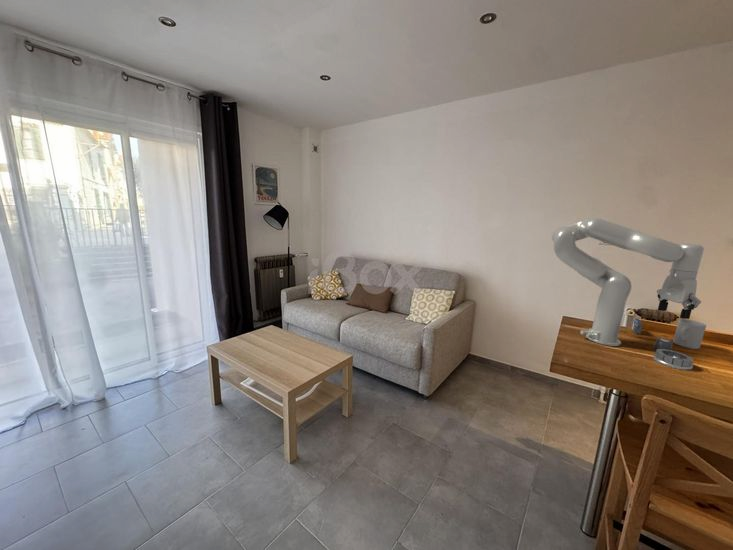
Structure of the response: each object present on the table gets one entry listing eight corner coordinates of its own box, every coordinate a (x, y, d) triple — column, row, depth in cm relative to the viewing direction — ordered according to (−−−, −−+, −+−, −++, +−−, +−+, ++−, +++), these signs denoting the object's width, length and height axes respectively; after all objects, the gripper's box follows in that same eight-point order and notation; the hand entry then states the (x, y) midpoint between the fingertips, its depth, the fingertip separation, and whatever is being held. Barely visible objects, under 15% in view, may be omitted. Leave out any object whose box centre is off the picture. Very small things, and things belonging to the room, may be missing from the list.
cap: (661, 353, 125) (664, 342, 124) (650, 348, 130) (652, 337, 129) (673, 354, 124) (676, 343, 123) (662, 348, 130) (665, 338, 128)
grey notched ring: (670, 369, 111) (673, 360, 111) (645, 355, 122) (647, 347, 121) (701, 371, 111) (703, 362, 110) (672, 357, 122) (675, 349, 121)
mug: (678, 339, 140) (684, 318, 138) (703, 347, 133) (710, 324, 130) (664, 343, 136) (671, 320, 133) (690, 351, 128) (697, 327, 126)
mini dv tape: (630, 329, 152) (633, 318, 151) (634, 329, 152) (637, 318, 150) (636, 334, 145) (638, 323, 144) (640, 335, 144) (643, 323, 143)
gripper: (654, 270, 129) (645, 307, 132) (695, 278, 112) (684, 321, 115) (672, 270, 128) (662, 308, 132) (716, 279, 111) (704, 322, 115)
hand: (672, 314), depth 123 cm, fingers open, 9 cm apart
